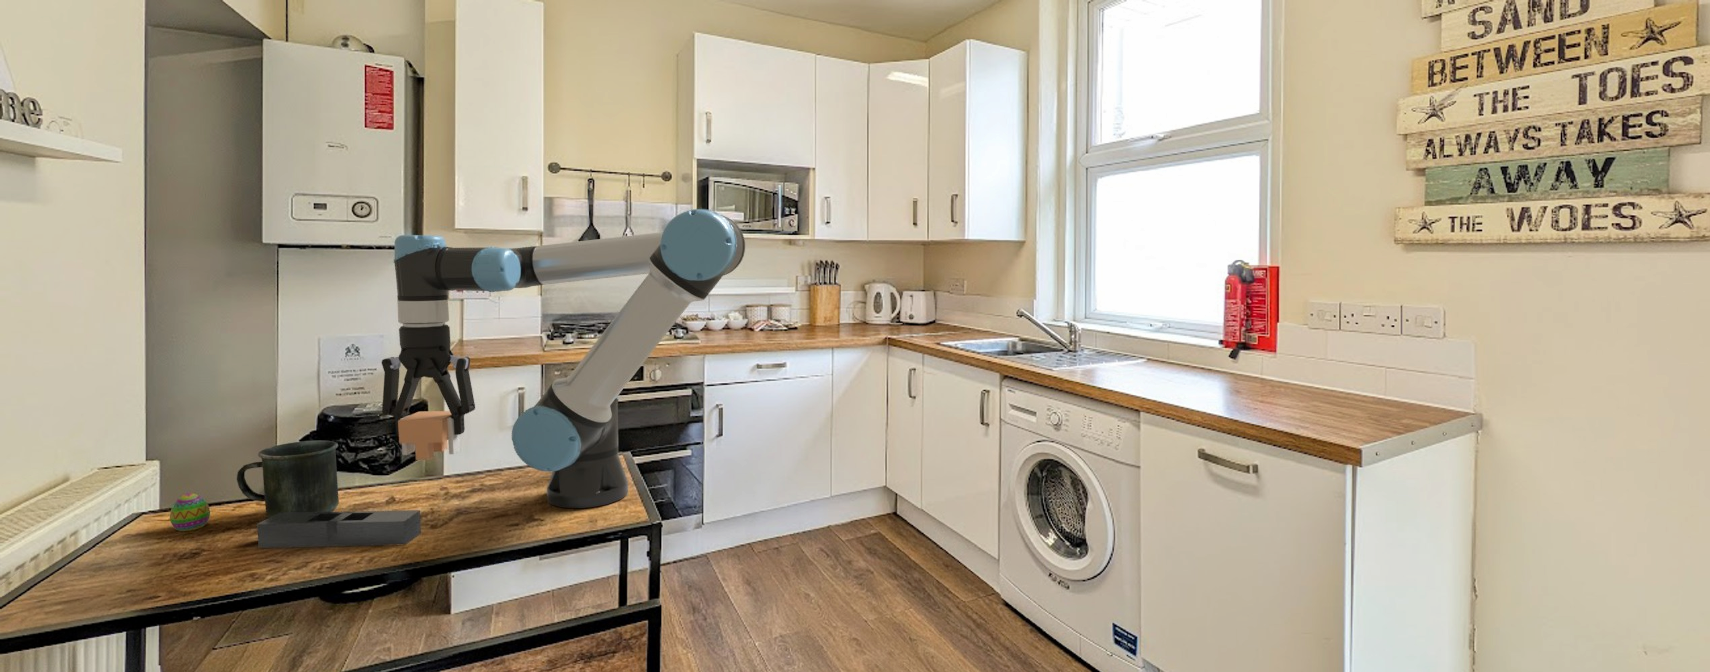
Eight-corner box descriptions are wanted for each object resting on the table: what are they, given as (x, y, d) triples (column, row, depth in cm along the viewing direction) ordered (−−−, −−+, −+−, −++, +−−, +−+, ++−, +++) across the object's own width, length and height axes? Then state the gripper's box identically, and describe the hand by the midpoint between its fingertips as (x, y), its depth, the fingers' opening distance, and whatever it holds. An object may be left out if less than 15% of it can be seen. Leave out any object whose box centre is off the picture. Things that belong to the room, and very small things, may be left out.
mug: (333, 518, 123) (329, 453, 121) (228, 530, 116) (222, 461, 115) (348, 498, 132) (344, 437, 131) (252, 508, 126) (247, 445, 125)
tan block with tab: (421, 449, 125) (418, 411, 124) (461, 448, 126) (459, 410, 125) (400, 460, 118) (397, 420, 117) (443, 459, 119) (441, 419, 118)
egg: (217, 525, 118) (214, 491, 118) (181, 535, 114) (177, 500, 113) (201, 520, 120) (198, 487, 120) (164, 530, 116) (161, 496, 115)
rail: (421, 532, 117) (420, 510, 117) (405, 544, 112) (404, 521, 112) (280, 535, 115) (279, 512, 114) (258, 548, 110) (256, 524, 109)
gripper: (493, 322, 124) (499, 445, 127) (375, 322, 122) (384, 447, 125) (475, 326, 117) (482, 457, 120) (349, 326, 115) (359, 459, 117)
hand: (432, 452), depth 122 cm, fingers closed on tan block with tab, 7 cm apart
